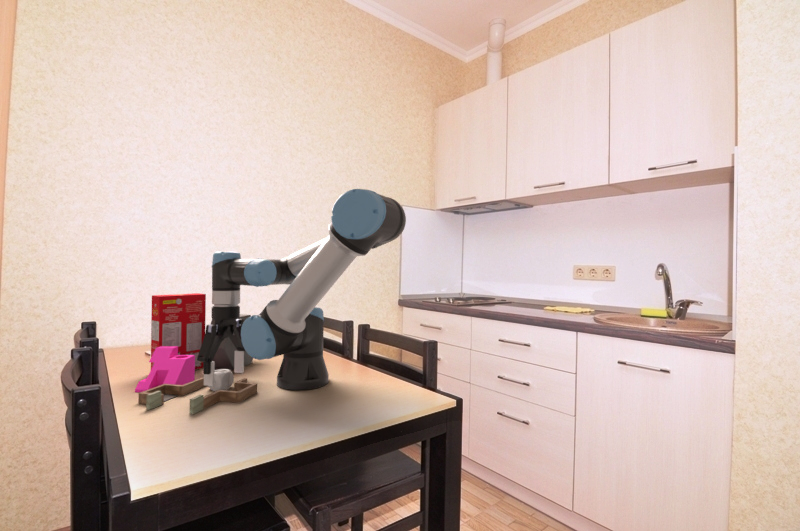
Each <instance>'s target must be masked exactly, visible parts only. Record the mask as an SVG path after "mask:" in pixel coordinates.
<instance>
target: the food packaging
mask: <svg viewBox="0 0 800 531" xmlns="http://www.w3.org/2000/svg"><path fill="white" fill-rule="evenodd" d="M206 296H207V295H206V293H197V292H196V293H175V294H174V293H173V294H156V295H151V318H150V319H151V322H150V323H151V326H150V331H151V333H150V336H151V337H150V358H151V357H152V355H153V353H154V351H155V349H156V348H157V347H160V346H178V355H195V370H200V369H203V362H200V361H198V360H197V357H198V354H199V351H200V348H201V345H202V342H203V339H204V336H205V333H206V316H207V314H206V311H207V310H206V309H207V308H206V306H207V303H206V300H207V297H206ZM202 357H203V356H202ZM154 363H155V362H150V370H151V369H152V367H153V365H154Z"/></svg>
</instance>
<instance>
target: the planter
mask: <svg viewBox="0 0 800 531" xmlns="http://www.w3.org/2000/svg"><path fill="white" fill-rule="evenodd" d="M251 316H252V315H251V314H243V313H240V317H239V318H238V319H243V322H244V321H245V320H246V319H247V318H248V317H251ZM214 323H215V320H214V319H212V318H211V322H210V324H209V325H214ZM235 351H238V350H237V349H236V348H235V346H234V344H233V343H232V341H231V339H230V338H229V337H227V338H225V339H224V340H223V341H222V342H221V344H220V346H219V348H218V350H217V352H216V354H215V356H214V358H213V360H212V361H215V369H216V370H218V369H229V370H230V371H234V358H235ZM209 357H210V356H209ZM253 361H254V358H252V357H251V356H250V355H249V354H248V353H247V352H246V351H244V367H245V366H248V365H250V364H253Z"/></svg>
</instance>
